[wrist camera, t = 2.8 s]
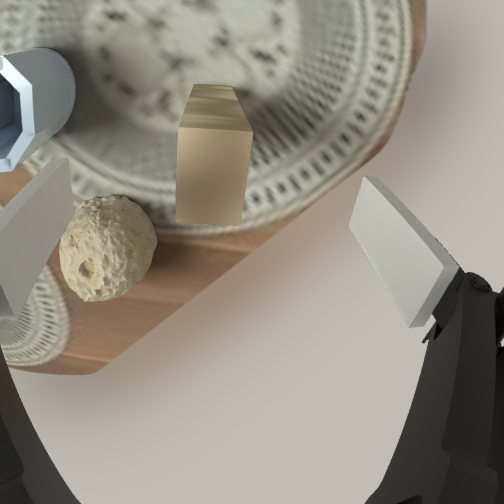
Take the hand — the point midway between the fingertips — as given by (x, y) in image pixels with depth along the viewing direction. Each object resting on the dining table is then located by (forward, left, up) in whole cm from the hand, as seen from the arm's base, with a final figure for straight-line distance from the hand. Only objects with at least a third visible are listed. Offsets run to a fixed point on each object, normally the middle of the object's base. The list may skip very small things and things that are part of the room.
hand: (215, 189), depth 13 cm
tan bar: (0, 0, -14) cm, 14 cm away
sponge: (-9, -12, -15) cm, 21 cm away
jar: (-16, +2, -14) cm, 22 cm away
